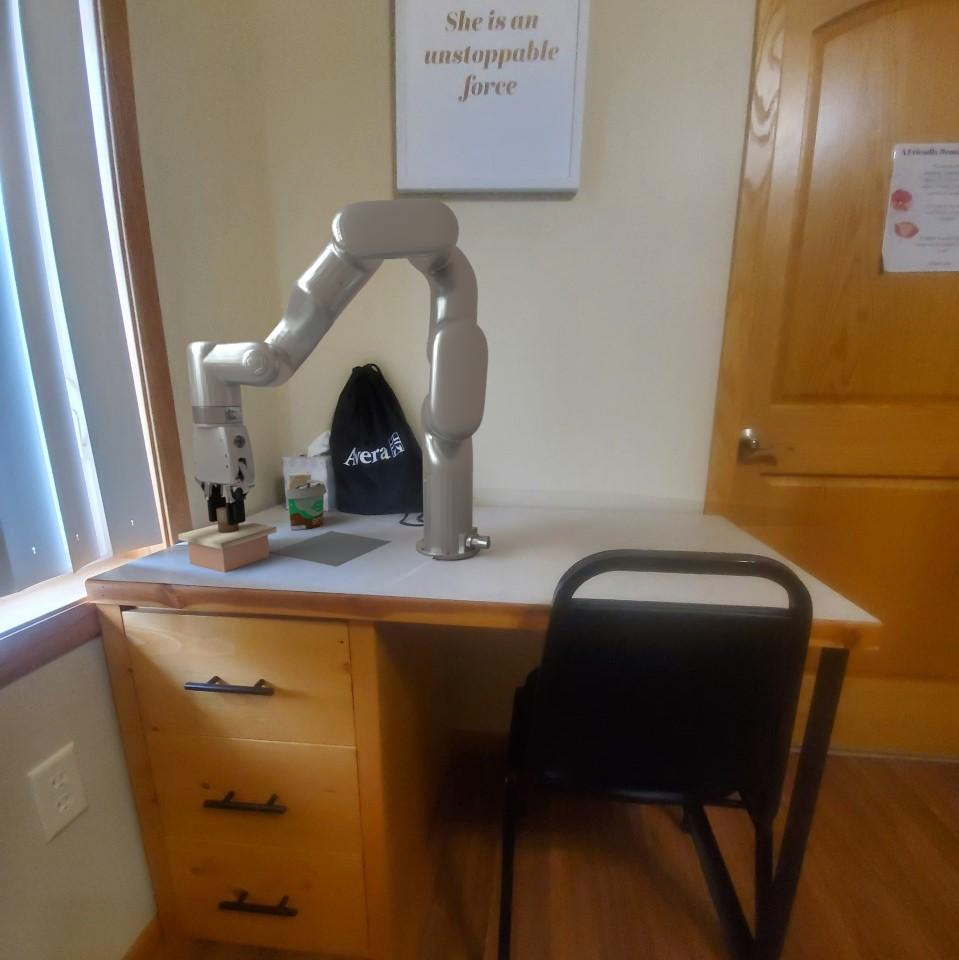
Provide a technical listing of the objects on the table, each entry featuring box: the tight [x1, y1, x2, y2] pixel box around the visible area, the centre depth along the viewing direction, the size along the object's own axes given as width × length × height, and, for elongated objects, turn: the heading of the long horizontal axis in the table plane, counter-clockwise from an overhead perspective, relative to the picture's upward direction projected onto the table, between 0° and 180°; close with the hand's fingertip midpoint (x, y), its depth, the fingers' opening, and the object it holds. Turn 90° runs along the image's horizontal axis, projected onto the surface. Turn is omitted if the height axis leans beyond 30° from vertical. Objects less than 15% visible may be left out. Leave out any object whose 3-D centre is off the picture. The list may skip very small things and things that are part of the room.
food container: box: [286, 479, 328, 532], centre depth 108 cm, size 12×6×10 cm, turn 179°
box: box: [286, 471, 312, 519], centre depth 116 cm, size 5×4×11 cm
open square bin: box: [187, 535, 270, 573], centre depth 86 cm, size 9×9×5 cm
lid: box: [177, 507, 277, 549], centre depth 85 cm, size 11×11×5 cm
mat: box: [269, 530, 392, 567], centre depth 94 cm, size 16×16×1 cm
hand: (227, 520), depth 85 cm, fingers open, 4 cm apart
